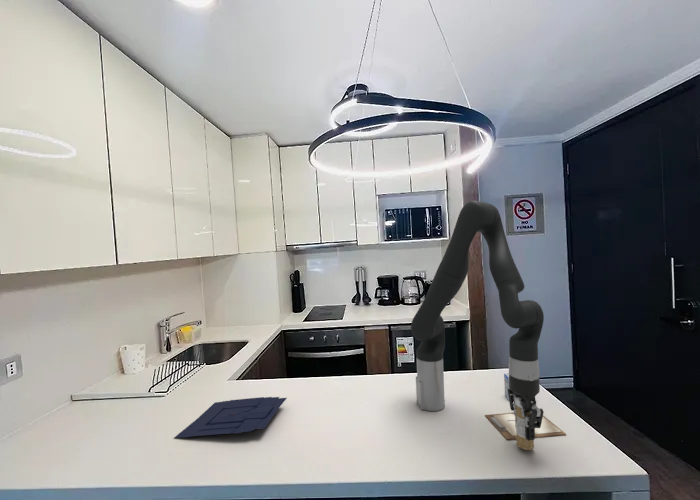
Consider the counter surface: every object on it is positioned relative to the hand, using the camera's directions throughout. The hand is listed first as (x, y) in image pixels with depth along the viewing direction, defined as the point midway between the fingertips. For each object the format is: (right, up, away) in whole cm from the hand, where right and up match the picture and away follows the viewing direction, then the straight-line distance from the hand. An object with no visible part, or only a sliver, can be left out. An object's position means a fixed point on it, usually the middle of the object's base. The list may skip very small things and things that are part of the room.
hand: (524, 434), depth 96 cm
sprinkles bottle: (0, -3, 0) cm, 4 cm away
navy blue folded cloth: (-88, -8, +23) cm, 91 cm away
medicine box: (+13, -3, +30) cm, 33 cm away
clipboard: (+6, -4, +12) cm, 14 cm away
